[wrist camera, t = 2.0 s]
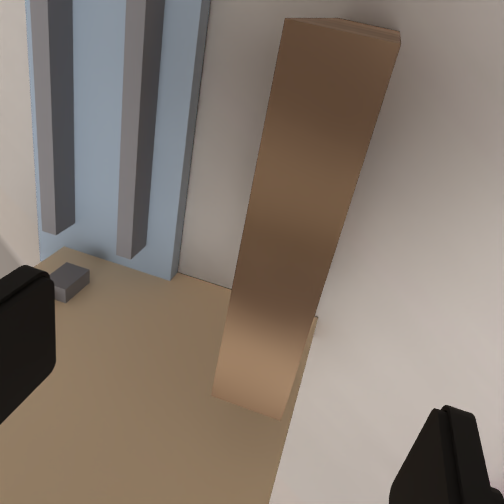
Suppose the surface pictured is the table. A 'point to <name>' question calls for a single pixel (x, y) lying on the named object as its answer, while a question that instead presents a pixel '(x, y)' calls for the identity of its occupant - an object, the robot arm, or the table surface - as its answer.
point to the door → (300, 200)
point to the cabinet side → (127, 275)
